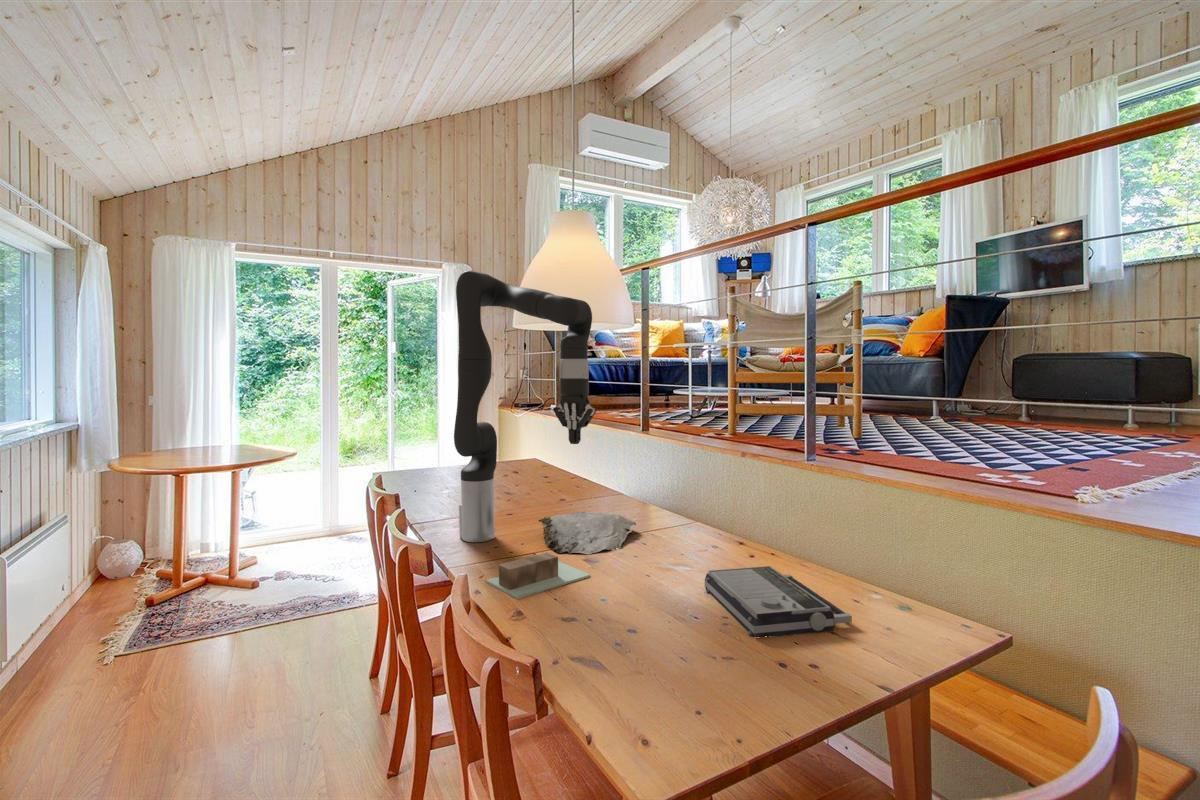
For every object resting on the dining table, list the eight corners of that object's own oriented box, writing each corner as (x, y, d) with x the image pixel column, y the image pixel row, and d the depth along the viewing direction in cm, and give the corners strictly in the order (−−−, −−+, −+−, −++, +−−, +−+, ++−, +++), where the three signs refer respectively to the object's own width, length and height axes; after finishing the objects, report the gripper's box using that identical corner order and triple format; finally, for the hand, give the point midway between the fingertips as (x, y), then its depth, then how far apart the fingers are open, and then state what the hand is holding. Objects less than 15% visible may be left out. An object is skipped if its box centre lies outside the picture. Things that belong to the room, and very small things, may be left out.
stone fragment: (658, 546, 163) (659, 523, 162) (563, 561, 149) (563, 536, 149) (614, 522, 185) (614, 502, 185) (528, 534, 172) (528, 512, 171)
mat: (557, 563, 146) (557, 561, 146) (590, 576, 136) (590, 574, 136) (486, 582, 133) (486, 579, 133) (516, 598, 123) (516, 596, 123)
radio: (703, 567, 127) (788, 561, 131) (703, 591, 127) (788, 584, 131) (754, 613, 103) (856, 604, 107) (753, 642, 103) (855, 632, 107)
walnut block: (546, 552, 138) (498, 564, 130) (557, 556, 135) (509, 569, 127) (546, 571, 139) (499, 584, 130) (558, 576, 135) (509, 590, 127)
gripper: (545, 377, 152) (545, 443, 153) (586, 377, 144) (586, 447, 145) (563, 376, 158) (563, 440, 159) (603, 376, 150) (603, 443, 151)
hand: (574, 443), depth 152 cm, fingers closed
